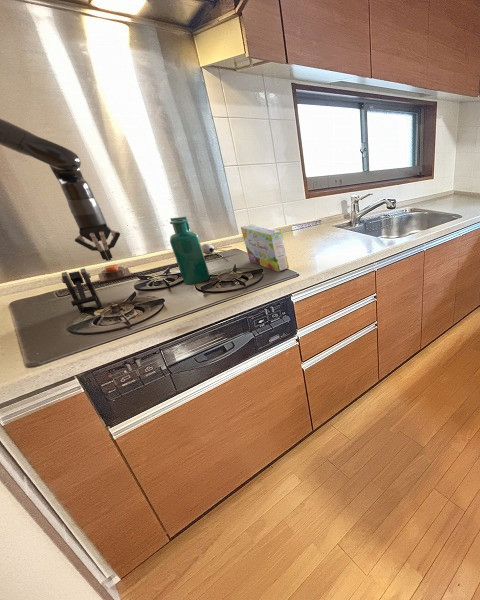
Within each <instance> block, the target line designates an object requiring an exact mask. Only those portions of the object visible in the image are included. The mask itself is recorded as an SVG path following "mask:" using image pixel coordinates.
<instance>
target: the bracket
mask: <svg viewBox="0 0 480 600" xmlns="http://www.w3.org/2000/svg"><path fill="white" fill-rule="evenodd" d="M80 274H81V276H82V278H83V281H84V283H85V285H86V287H87V289H88V291H89V293H90V296H95V297H96V299H97V301H94V303H95V305H96V307H97V308H98V309H101V308H103V304H102V301H101V299H100V297H99V295H98V292H97V290H96V288H95V286H94V284H93V282H92V280H91V278H92V275H91V274H90V273H89V272H87V270H86V268H85V267H84V268H80ZM60 280H61V282H62V283H63V284H65V286H66V289H67V290H68V292H69V294H70V296H71V298H72V299H73V301H74V300H78V299H80V296H79V293H78V290H77V288H75V287H76V286H75V285H74V284H73V282H72V281H71V279H70V276H69V273H68V272H67V271H64V272H61V278H60ZM84 307H85V305H84V304H80V305H76V308H77V309H78V311H79V313H80V314H81V313H85V312H86V309H85V310H84Z"/></svg>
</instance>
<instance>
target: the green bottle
mask: <svg viewBox="0 0 480 600" xmlns="http://www.w3.org/2000/svg"><path fill="white" fill-rule="evenodd" d="M169 220H170V222H169V224H170V225H172V229H173V231H174V233H172V234H171V235H170V237H169V244H170V247H171V250H172V252H173V255H174V258H175V261H176V263H177V267H178V269H179V273H180V275H181V278H182V281H183V284H185V285H194V284H198V283H197V282H199V283H203V282H202V281H204V282H207V281H206V280H208V279H209V276H210V277H211V274H210V271H209V267H208V263H207V261H206V257H205V254H204V253H203V251H202V247H201V245H202V244H201V241H200V238H199V235H198V233H197V232H195V231H192V230H191V227H190V224H189V220H188V218H187V216H177V217H171V218H169ZM208 281H209V280H208Z"/></svg>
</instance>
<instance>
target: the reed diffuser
mask: <svg viewBox="0 0 480 600" xmlns="http://www.w3.org/2000/svg"><path fill="white" fill-rule="evenodd" d="M201 247H202V251H203V254H204V255H207V256H211V255H212V256H213V258H214V259H215V260H217V258H216V257H215V255H217V256H218V257H220V258H222V259H224V260H225V261H227V262H229V260H228V259H226V258H225V257H224V256H222V255H220V254H219V253H217V252H215V251H218V250H219V251H220V252H225V250H223V249H227V248H228V246H224V247H216V248H215V247H214V245H212V244H210V243H202V244H201ZM229 248H232V246H229Z"/></svg>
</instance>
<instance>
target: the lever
mask: <svg viewBox="0 0 480 600" xmlns="http://www.w3.org/2000/svg"><path fill="white" fill-rule="evenodd" d="M68 276H69V278H70V280H71V282H72V284H73V286H75V287H76V291H77V293H78V295H79V297H80V299H78V300H74V299H73V300H71V301H70V303H71V305H72V307H77V305H80V304H83V305H84V304H88V303H92V302H95V301H97V299H96V297H95V296H92V295H90V296H86V294H85V290H84V287H83V284H85V280H84V278H83V276H82V274H81V271H79V270H77V271H72V272H68Z"/></svg>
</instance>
